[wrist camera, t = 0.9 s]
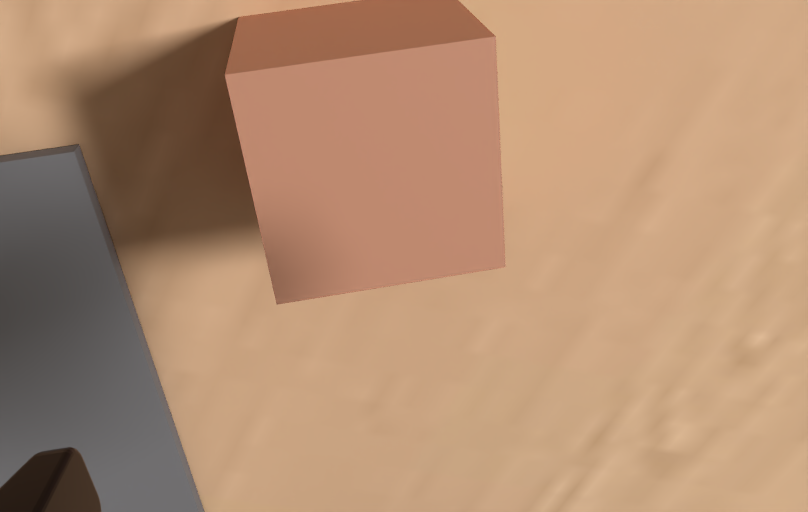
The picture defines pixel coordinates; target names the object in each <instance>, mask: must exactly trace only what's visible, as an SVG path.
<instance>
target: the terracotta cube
mask: <svg viewBox="0 0 808 512" xmlns="http://www.w3.org/2000/svg"><path fill="white" fill-rule="evenodd" d="M225 78H226V83H227V87H228V92H229V96H230V100H231V105H232V109H233V114H234V118H235V123H236V127H237V131H238V136H239V140H240V145H241V149H242V153H243V158H244V162H245V167H246V171H247V175H248V180H249V184H250V189H251V193H252V197H253V202H254V206H255V211H256V215H257V219H258V224H259V228H260V233H261V237H262V241H263V246H264V250H265V255H266V259H267V263H268V268H269V272H270V277H271V281H272V285H273V290H274V294H275V299H276V303H277V304H283V303H289V302H295V301H301V300H307V299H314V298H320V297H326V296H332V295H338V294H344V293H350V292H356V291H363V290H369V289H375V288H381V287H387V286H393V285H399V284H405V283H411V282H418V281H424V280H430V279H436V278H442V277H448V276H454V275H460V274H466V273H473V272H479V271H485V270H491V269H497V268H503V267H505V244H504V221H503V197H502V174H501V151H500V127H499V104H498V81H497V57H496V36H495V35H494V34H493V33H492V32H490V31H489V30H488V29H487V28H486V27H485V26H484V25H483V24H482V23H481V22H480V21H479V20H478V19H477V18H476V17H475V16H474V15H473V14H472V13H471V12H470V11H469V10H468V9H467V8H466V7H465V6H463V5H462V4H461V3H460V2H459V1H458V0H360V1H353V2H345V3H338V4H331V5H323V6H316V7H309V8H302V9H294V10H287V11H280V12H272V13H265V14H258V15H250V16H243V17H239V18H238V22H237V26H236V30H235V34H234V39H233V43H232V47H231V51H230V55H229V59H228V63H227V67H226V72H225Z"/></svg>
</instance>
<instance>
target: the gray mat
mask: <svg viewBox="0 0 808 512" xmlns="http://www.w3.org/2000/svg"><path fill="white" fill-rule="evenodd" d="M67 447H72V448H75V449H77V450H78V451H79V452H80V454H81V455H82V457H83V460H84V462H85V465H86V467H87V469H88V472H89V474H90V477H91V479H92V481H93V484H94V486H95V489H96V491H97V493H98V496H99V499H100V504H101V512H204V509H203V506H202V503H201V500H200V497H199V494H198V492H197V489H196V486H195V483H194V480H193V477H192V474H191V471H190V468H189V465H188V462H187V459H186V456H185V453H184V450H183V448H182V445H181V442H180V439H179V436H178V433H177V430H176V427H175V424H174V421H173V418H172V415H171V412H170V409H169V407H168V404H167V401H166V398H165V395H164V392H163V389H162V386H161V383H160V380H159V377H158V374H157V371H156V368H155V365H154V363H153V360H152V357H151V354H150V351H149V348H148V345H147V342H146V339H145V336H144V333H143V330H142V327H141V324H140V322H139V319H138V316H137V313H136V310H135V307H134V304H133V301H132V298H131V295H130V292H129V289H128V286H127V283H126V280H125V278H124V275H123V272H122V269H121V266H120V263H119V260H118V257H117V254H116V251H115V248H114V245H113V242H112V239H111V237H110V234H109V231H108V228H107V225H106V222H105V219H104V216H103V213H102V210H101V207H100V204H99V201H98V198H97V195H96V193H95V190H94V187H93V184H92V181H91V178H90V175H89V172H88V169H87V166H86V163H85V160H84V157H83V154H82V152H81V149H80V146H79V144H78V145H71V146H64V147H58V148H51V149H44V150H37V151H30V152H23V153H16V154H9V155H2V156H0V487H1V486H3V485H4V484H5V483H6V482H7V481H8V480H9V479H10V478H11V477H12V476H13V475H14V474H15V473H16V472H17V471H18V470H19V469H20V468H21V467H22V466H23V465H24V464H25V463H26V462H27V461H28V460H29V459H30V458H31V457H32V456H34V455H35V454H37V453H39V452H42V451H47V450H54V449H60V448H67Z"/></svg>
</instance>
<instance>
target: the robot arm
mask: <svg viewBox="0 0 808 512" xmlns="http://www.w3.org/2000/svg"><path fill="white" fill-rule="evenodd" d="M0 512H101V504H100V499H99V496H98V493H97V491H96V489H95V486H94V484H93V481H92V479H91V477H90V474H89V472H88V469H87V467H86V465H85V462H84V460H83V457H82V455H81V454H80V452H79V451H78V450H77V449H75V448H72V447H67V448H60V449H54V450H47V451H42V452H39V453H37V454H35V455H34V456H32V457H31V458H30V459H29V460H28V461H27V462H26V463H25V464H24V465H23V466H22V467H21V468H20V469H19V470H18V471H17V472H16V473H15V474H14V475H13V476H12V477H11V478H10V479H9V480H8V481H7V482H6V483H5V484H4V485H3V486H1V487H0Z"/></svg>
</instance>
